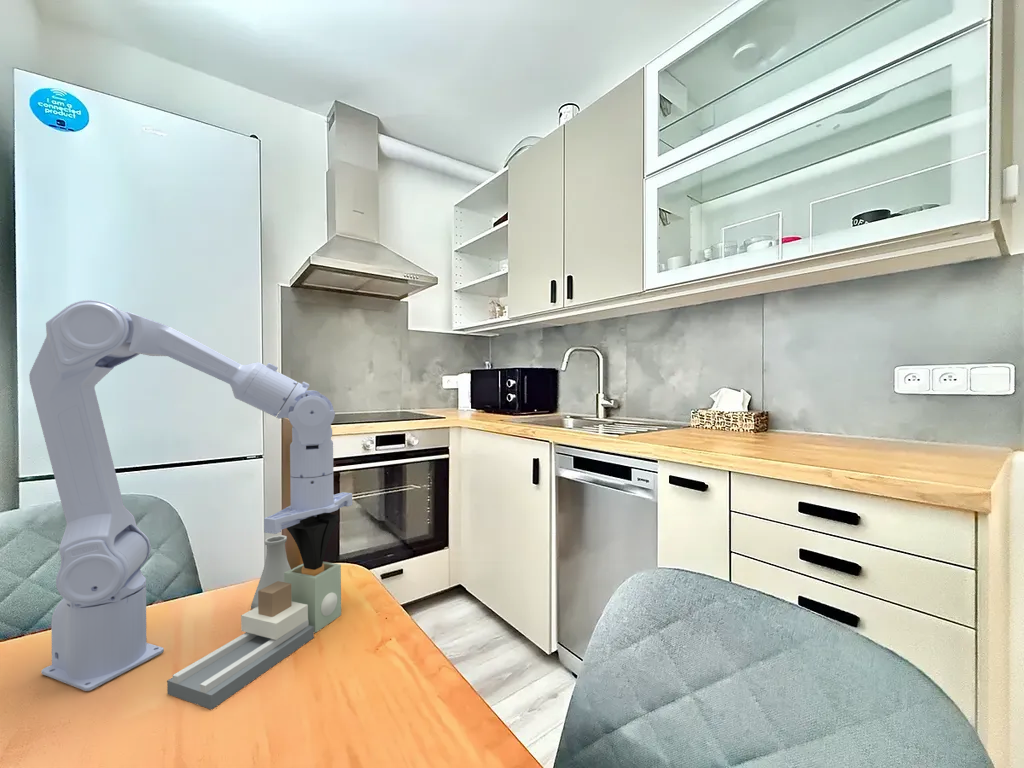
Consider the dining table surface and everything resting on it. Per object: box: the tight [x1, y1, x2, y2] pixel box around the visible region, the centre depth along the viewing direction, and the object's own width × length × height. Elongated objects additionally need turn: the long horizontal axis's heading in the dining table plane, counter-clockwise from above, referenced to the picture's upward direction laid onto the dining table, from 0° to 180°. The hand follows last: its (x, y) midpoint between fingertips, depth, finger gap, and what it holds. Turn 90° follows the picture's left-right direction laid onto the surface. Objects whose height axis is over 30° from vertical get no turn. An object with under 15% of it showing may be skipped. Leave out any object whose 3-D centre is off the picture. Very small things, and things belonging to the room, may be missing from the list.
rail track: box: [166, 620, 315, 710], centre depth 54 cm, size 7×14×2 cm, turn 160°
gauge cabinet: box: [284, 561, 342, 634], centre depth 64 cm, size 6×5×8 cm
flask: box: [250, 534, 291, 610], centre depth 70 cm, size 7×7×10 cm
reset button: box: [302, 564, 324, 576], centre depth 64 cm, size 3×3×2 cm
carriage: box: [240, 581, 308, 640], centre depth 58 cm, size 6×5×5 cm
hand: (313, 567), depth 64 cm, fingers closed, pressing on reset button
